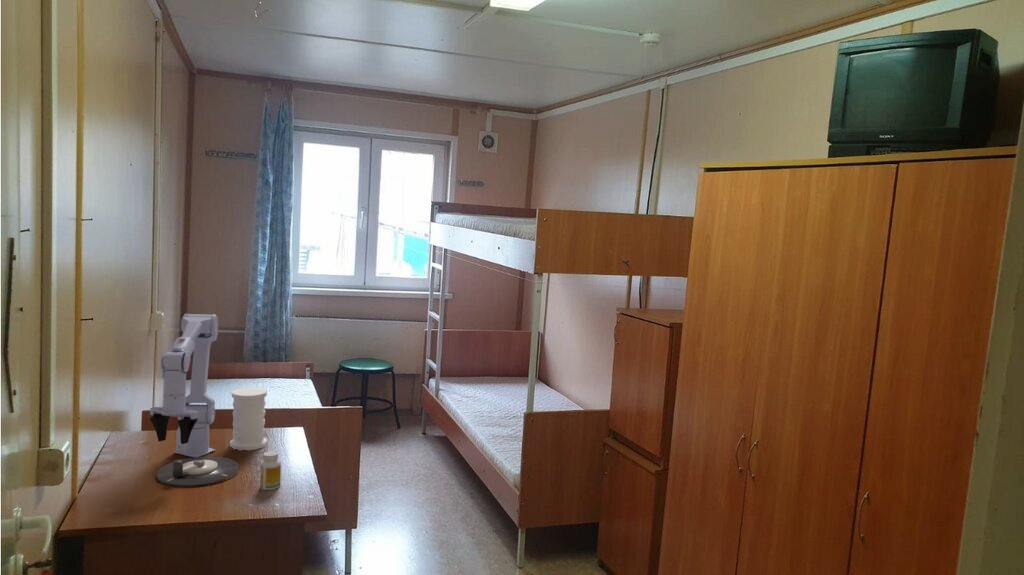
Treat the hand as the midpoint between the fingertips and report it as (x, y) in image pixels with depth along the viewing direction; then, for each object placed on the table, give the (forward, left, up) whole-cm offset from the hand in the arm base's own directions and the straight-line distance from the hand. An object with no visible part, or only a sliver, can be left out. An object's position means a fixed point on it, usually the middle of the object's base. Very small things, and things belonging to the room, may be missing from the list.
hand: (173, 442), depth 199 cm
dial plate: (+2, +7, -11) cm, 13 cm away
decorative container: (-4, +33, -11) cm, 36 cm away
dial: (+2, +6, -10) cm, 11 cm away
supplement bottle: (+27, +9, -11) cm, 31 cm away
